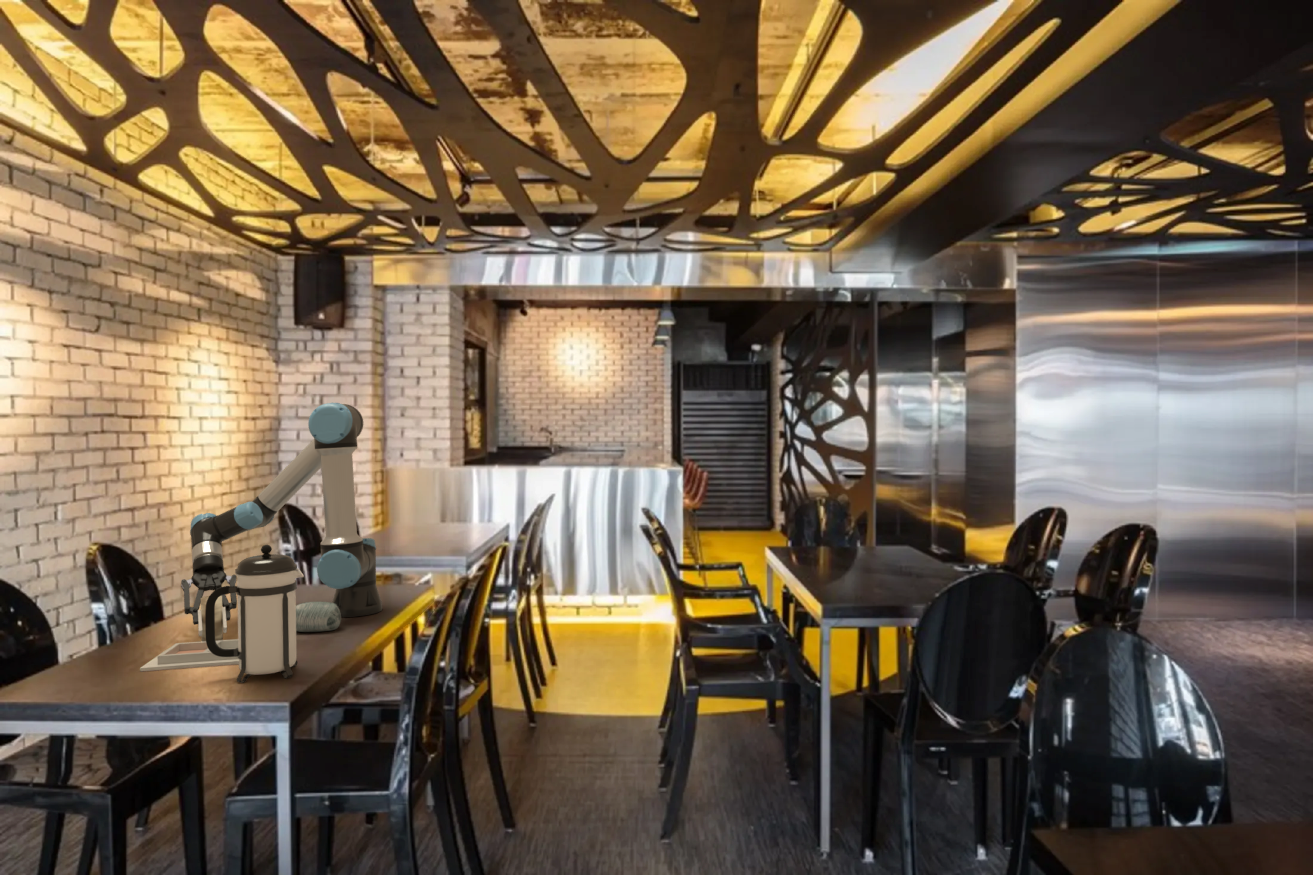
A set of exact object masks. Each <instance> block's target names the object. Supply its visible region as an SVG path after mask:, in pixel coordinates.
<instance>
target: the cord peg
mask: <svg viewBox="0 0 1313 875" xmlns="http://www.w3.org/2000/svg"><path fill="white" fill-rule="evenodd" d="M209 596H210V595H206V596H202V598H201V604H200V610H201V616H202V636H200V637H201V638H200V639H201V641H200V642H203V641H206V632H205V609H206V603H207V600H208V598H209ZM222 607H223V606H222V596H220V597H218V599H217V600H216V602H215V641H219V640H224V639H223V638H224V637H223V635H224V633H223V624H222Z"/></svg>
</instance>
